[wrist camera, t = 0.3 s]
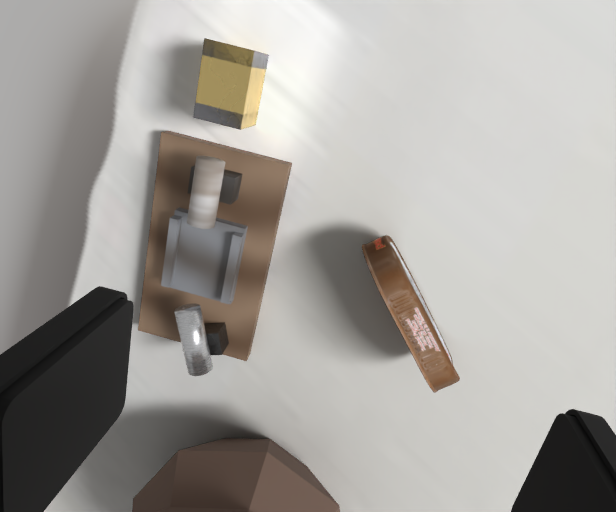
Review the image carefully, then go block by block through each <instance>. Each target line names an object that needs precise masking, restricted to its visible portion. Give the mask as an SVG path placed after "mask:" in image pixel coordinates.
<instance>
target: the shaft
mask: <svg viewBox="0 0 616 512" xmlns="http://www.w3.org/2000/svg"><path fill="white" fill-rule="evenodd" d="M174 312H175V317H176V321H177V325H178V330H179V334H180V339H181V343H182V348H183V352H184V356H185V361H186V365H187V369H188V373H189V374H190V375H192V376H200V375H204V374H206V373H208V372H209V371H211V370H212V368H213V365H212V360H211V355H222V354H223V353H224V351H225V349H226V348H227V346H228V344H229V340H228V335H227V330H226V324H225V322H223V323H204V322H203V317H202V312H201V307H200V305H199V304H194V303H193V304H186V305H182V306H180V307H178V308H177V309H176V310H175V311H174Z"/></svg>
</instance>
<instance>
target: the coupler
mask: <svg viewBox="0 0 616 512" xmlns="http://www.w3.org/2000/svg"><path fill="white" fill-rule="evenodd" d="M268 56H269V55H267V54H264V53H260V52H257V51H253V50H249V49H245V48H241V47H237V46H233V45H229V44H225V43H221V42H217V41H213V40H209V39H205V38H204V45H203V53H202V60H201V67H200V74H199V81H198V88H197V95H196V103H195V110H194V118H198V119H202V120H205V121H209V122H213V123H217V124H221V125H225V126H229V127H232V128H236V129H240V130H241V129H244V128H247V127H251V126H254V125H256V120H257V115H258V109H259V104H260V99H261V93H262V88H263V83H264V77H265V72H266V67H267V61H268Z"/></svg>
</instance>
